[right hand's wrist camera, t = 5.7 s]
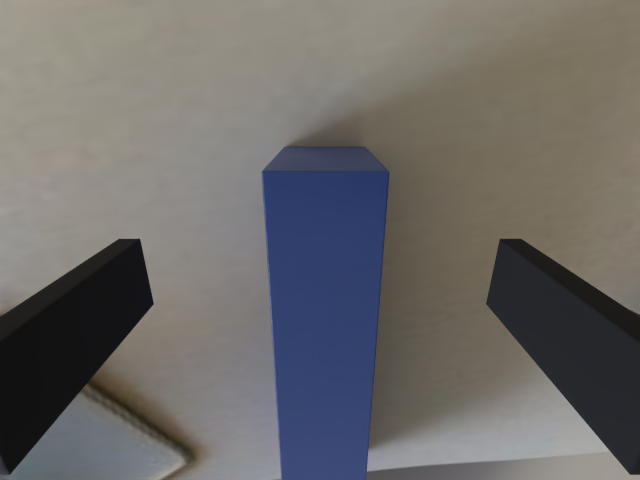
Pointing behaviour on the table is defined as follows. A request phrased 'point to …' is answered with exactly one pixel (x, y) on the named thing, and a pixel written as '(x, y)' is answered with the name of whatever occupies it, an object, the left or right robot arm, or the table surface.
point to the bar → (324, 304)
